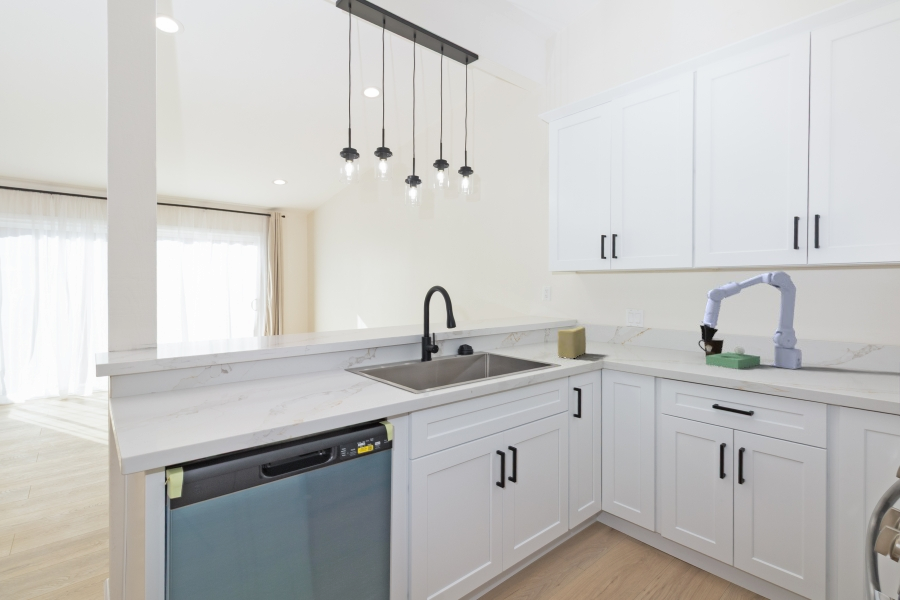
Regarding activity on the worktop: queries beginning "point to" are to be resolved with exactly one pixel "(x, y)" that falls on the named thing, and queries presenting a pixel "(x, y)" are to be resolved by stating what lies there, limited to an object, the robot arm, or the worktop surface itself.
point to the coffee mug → (713, 346)
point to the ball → (739, 350)
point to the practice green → (733, 360)
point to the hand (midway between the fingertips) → (706, 341)
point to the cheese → (571, 342)
